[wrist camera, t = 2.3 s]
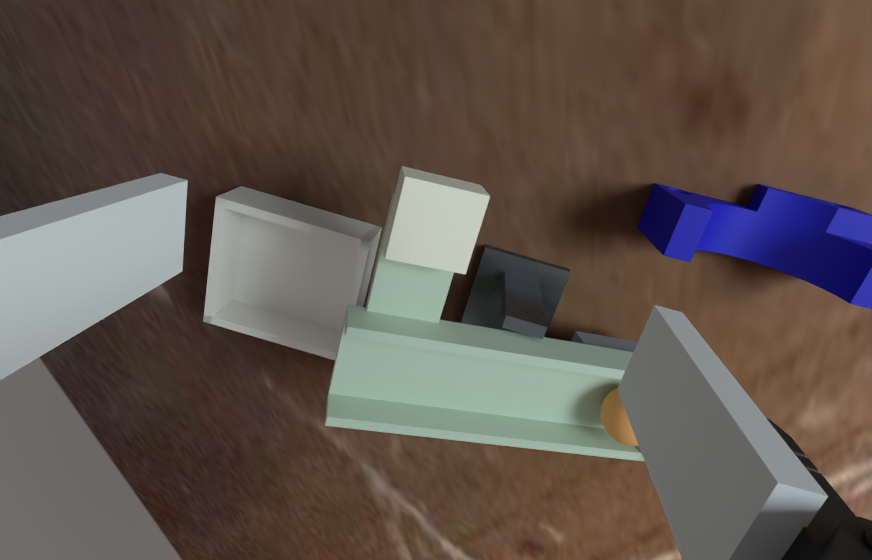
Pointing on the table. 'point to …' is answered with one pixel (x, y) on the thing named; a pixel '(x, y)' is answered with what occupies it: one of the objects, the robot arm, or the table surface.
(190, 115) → the table surface
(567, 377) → the lever
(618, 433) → the ball
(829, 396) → the table surface
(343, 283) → the open white tray
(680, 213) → the cable clip
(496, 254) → the pivot stand
